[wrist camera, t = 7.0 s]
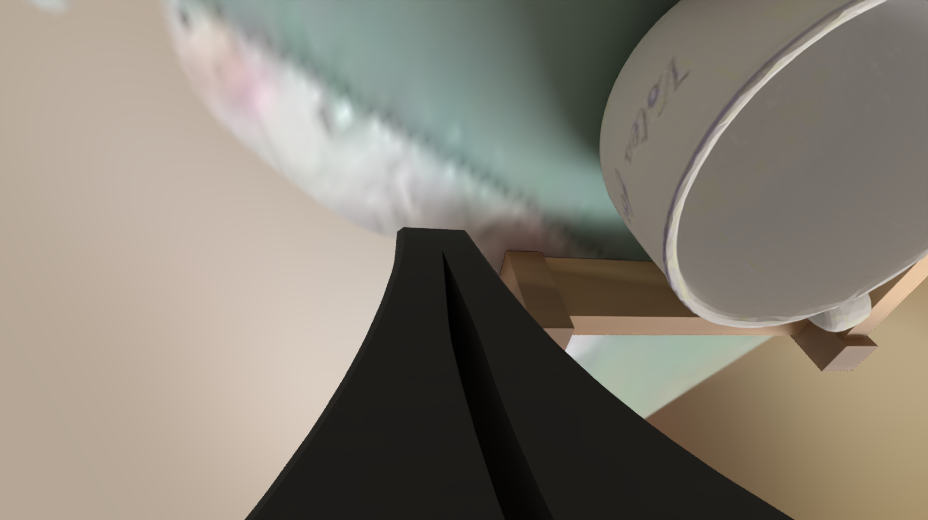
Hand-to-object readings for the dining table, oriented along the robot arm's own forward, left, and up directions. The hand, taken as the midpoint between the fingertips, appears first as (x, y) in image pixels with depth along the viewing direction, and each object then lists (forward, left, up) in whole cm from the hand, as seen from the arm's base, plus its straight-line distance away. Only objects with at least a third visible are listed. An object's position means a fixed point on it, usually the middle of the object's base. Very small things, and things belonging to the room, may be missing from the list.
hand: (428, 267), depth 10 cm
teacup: (0, -13, -10) cm, 16 cm away
